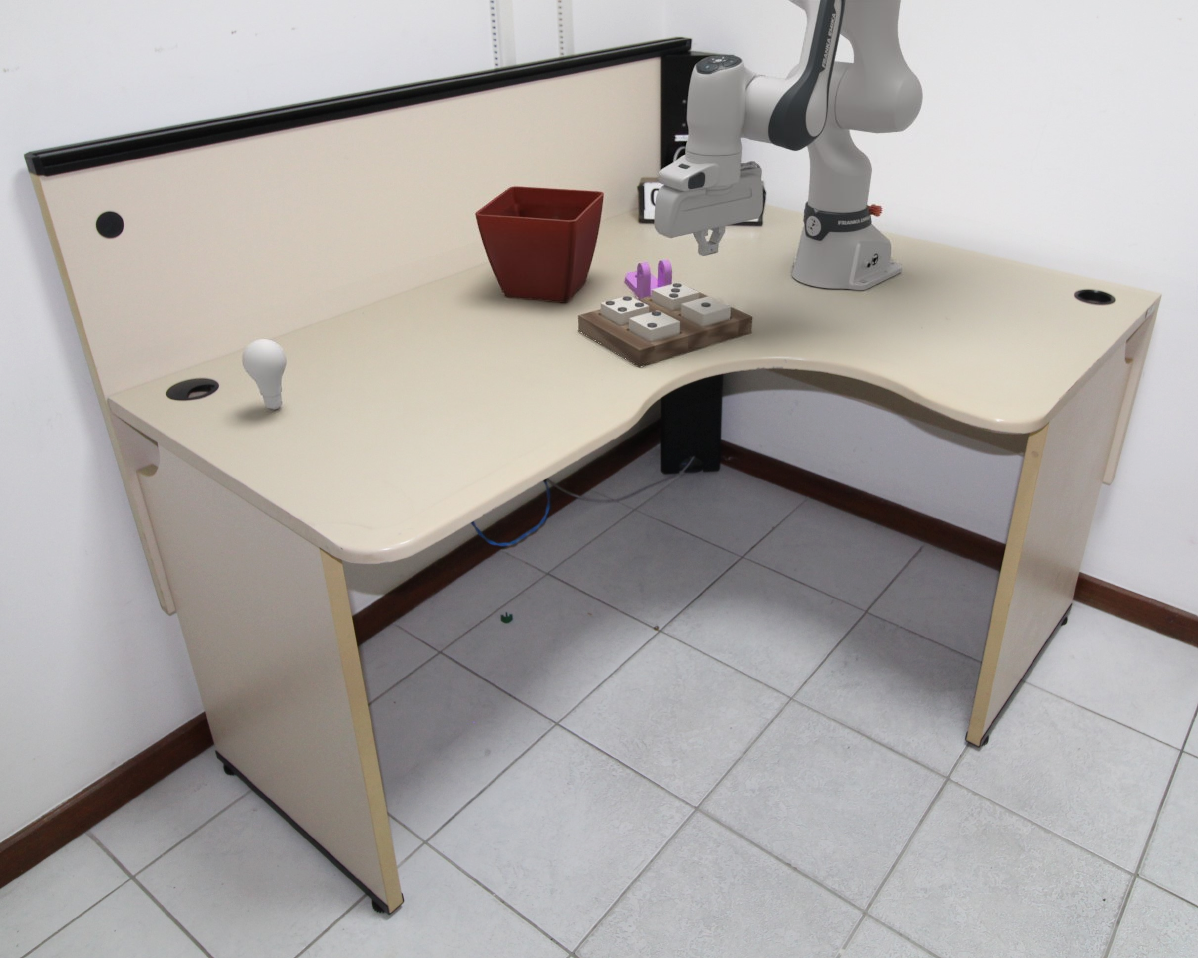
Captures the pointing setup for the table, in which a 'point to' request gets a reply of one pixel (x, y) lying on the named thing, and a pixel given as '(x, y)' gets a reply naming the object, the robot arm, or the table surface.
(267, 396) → the lightbulb
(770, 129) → the robot arm
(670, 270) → the bracket
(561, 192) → the plant pot
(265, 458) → the table surface
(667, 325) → the button two dots
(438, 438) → the table surface
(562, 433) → the table surface
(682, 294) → the button three dots
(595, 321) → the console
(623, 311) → the button four dots
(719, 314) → the button one dot
